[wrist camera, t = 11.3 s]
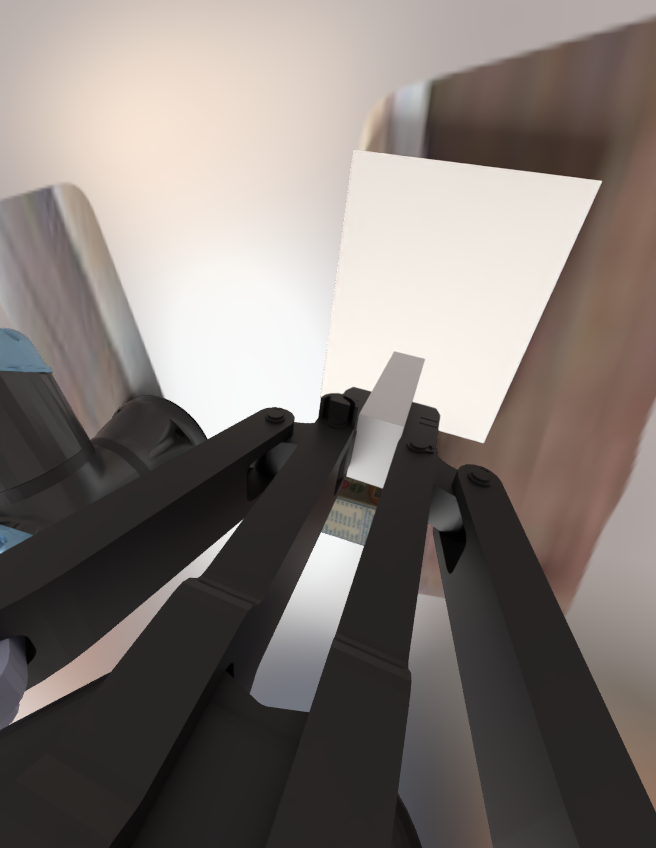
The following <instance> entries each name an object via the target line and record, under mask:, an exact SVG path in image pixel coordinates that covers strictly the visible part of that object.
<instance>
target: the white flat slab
mask: <svg viewBox="0 0 656 848" xmlns="http://www.w3.org/2000/svg"><path fill="white" fill-rule="evenodd" d="M601 183H602V181H599V180H591V179H583V178H575V177H567V176H559V175H551V174H543V173H535V172H527V171H519V170H511V169H503V168H496V167H488V166H480V165H472V164H464V163H456V162H448V161H440V160H432V159H424V158H416V157H408V156H400V155H392V154H385V153H377V152H369V151H361V150H353V157H352V165H351V172H350V179H349V187H348V195H347V201H346V209H345V216H344V224H343V231H342V239H341V247H340V254H339V261H338V270H337V276H336V283H335V291H334V299H333V307H332V314H331V321H330V328H329V336H328V344H327V352H326V358H325V366H324V373H323V381H322V388H321V395H320V397H322V396H324V395H325V394H329V393H340V394H343V393H344V392H345V390H347V389H350V388H352V387H356V388H360V389H364V390H367V391H371V392H372V390H373V388H374V387H375V385H376V383H377V381H378V379H379V378H380V376H381V374H382V372H383V370H384V369H385V367H386V365H387V363H388V361H389V360H390V358H391V356H392V354H393V352H394V351H395V352H399V353H403V354H407V355H412V356H416V357H420V358H424V359H425V361H424V365H423V368H422V372H421V375H420V378H419V382H418V385H417V388H416V392H415V395H414V399H413V402H415V403H419V404H422V405H426V406H430V407H434V408H436V409H437V410H438V412H439V414H440V422H439V428H438V430H439V431H442V432H446V433H449V434H453V435H456V436H460V437H463V438H467V439H471V440H474V441H478V442H481V443H484V441H485V439H486V437H487V435H488V432H489V430H490V428H491V426H492V424H493V421H494V419H495V417H496V415H497V412H498V410H499V408H500V406H501V404H502V401H503V399H504V397H505V395H506V393H507V390H508V388H509V386H510V384H511V382H512V379H513V377H514V375H515V373H516V370H517V368H518V366H519V364H520V362H521V359H522V357H523V355H524V353H525V351H526V348H527V346H528V344H529V342H530V340H531V337H532V335H533V333H534V331H535V329H536V326H537V324H538V322H539V320H540V317H541V315H542V313H543V311H544V309H545V306H546V304H547V302H548V300H549V298H550V295H551V293H552V291H553V289H554V287H555V284H556V282H557V280H558V278H559V275H560V273H561V271H562V269H563V267H564V264H565V262H566V260H567V258H568V256H569V253H570V251H571V249H572V247H573V245H574V242H575V240H576V238H577V236H578V233H579V231H580V229H581V227H582V225H583V222H584V220H585V218H586V216H587V214H588V211H589V209H590V207H591V205H592V203H593V200H594V198H595V196H596V194H597V192H598V189H599V187H600V185H601Z"/></svg>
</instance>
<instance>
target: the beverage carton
mask: <svg viewBox="0 0 656 848" xmlns="http://www.w3.org/2000/svg"><path fill="white" fill-rule="evenodd" d="M347 471H348V469H347ZM347 471H346V473H345V476H344V481H343V486H342V488H341V490H340V492H339V494H338V496H337V499H336V501H335V503H334V505H333V507H332V509H331V512H330V514H329V516H328V518H327V520H326V522H325V524H324V527H323V529H322V531H321V532H322V533H325V534H329V535H332V536H335V537H339V538H341V539H345V540H347V541H350V542H354V543H357V544H360V545H363V546H364V545H365V542H366V539H367V536H368V533H369V530H370V527H371V524H372V520H373V517H374V514H375V511H376V508H377V505H378V502H379V499H380V496H381V493H382V490H383V488H380V487H377V486H374V485H371V484H368V483H365V482H362V481H359V480H356V479H353V478H350V477H346V476H347Z"/></svg>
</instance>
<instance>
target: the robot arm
mask: <svg viewBox="0 0 656 848" xmlns="http://www.w3.org/2000/svg"><path fill="white" fill-rule="evenodd" d="M424 361H425V359H424V358H420V357H416V356H412V355H407V354H403V353H399V352H395V351H394V352H393V354H392V356H391V358H390V360H389V361H388V363H387V365H386V367H385V369H384V370H383V372H382V374H381V376H380V378H379V379H378V381H377V383H376V385H375V387H374V388H373V390H372V392H371V391H367V390H364V389H360V388H356V387H352V388H350V389H347V390H345V392H344V393H343V394H340V393H329V394H325V395H324V396H322V397H321V402H320V410H319V417H318V419H317V420H316V422H315V423H297V422H294V416H293V414H292V413H291V412H289V411H288V410H285V409H282V408H277V407H273V408H266V409H263V410H260V411H259V412H257V413H255V414H253V415H251V416H250V417H248V418H246V419H244V420H242V421H241V422H239V423H237V424H235V425H233V426H231V427H229V428H228V429H226V430H224V431H222V432H220V433H219V434H217V435H215V436H213V437H211V438H210V439H207V437H206V435H205V433H204V432H203V430H202V429H201V427H200V426H199V424H198V423H197V422H196V421H195V420H194V418H193V417H191V415H190V414H188V413H187V412H186V411H185V410H184V409H183V408H181V407H180V406H178V405H177V404H175V403H173V402H171V401H170V400H167V399H162V398H159V397H155V396H139V397H136V398H134V399H132V400H130V401H129V402H127V403H125V404H123V405H122V406H121V407H119V408H118V410H117V411H116V412H115V413H114V415H113V417H112V419H111V420H110V421H109V422H108V423H107V424H106V425H105V426H104V427H103V428H102V429H101V430H100V431H99V433H98V434H97V435H96V436H95V437H94V438H92V439H91V440H90V439H89V437H88V436H87V434H86V432H85V430H84V429H83V427H82V425H81V424H80V422H79V420H78V418H77V417H76V415H75V413H74V411H73V410H72V408H71V406H70V405H69V403H68V401H67V399H66V398H65V396H64V394H63V393H62V391H61V389H60V387H59V386H58V384H57V382H56V380H55V379H54V377H53V375H52V374H51V373H52V372H53V371H52V369H51V368H50V367H48V366H47V365H46V364H45V362H44V361H43V359H42V358H41V356H40V354H39V353H38V351H37V350H36V348H35V347H34V345H33V344H32V342H31V341H30V340H29V339H28V338H27V337H26V336H25V335H24V334H22V333H20V332H18V331H16V330H13V329H7V328H0V848H422V846H421V843H420V840H419V837H418V834H417V832H416V829H415V827H414V824H413V822H412V820H411V818H410V815H409V813H408V811H407V809H406V807H405V805H404V803H403V802H402V799H401V798H400V796H399V794H398V786H399V778H400V771H401V763H402V755H403V747H404V739H405V731H406V724H407V716H408V708H409V699H410V691H411V672H410V671H409V669H408V659H409V652H410V645H411V638H412V631H413V624H414V617H415V610H416V602H417V596H418V589H419V582H420V575H421V568H422V560H423V553H424V546H425V539H426V532H427V525H428V524H430V525H431V526H433V537H434V542H435V547H436V552H437V557H438V563H439V568H440V573H441V578H442V584H443V589H444V594H445V599H446V604H447V609H448V615H449V620H450V625H451V630H452V636H453V641H454V646H455V651H456V656H457V662H458V667H459V672H460V677H461V683H462V688H463V693H464V698H465V704H466V709H467V713H468V719H469V724H470V730H471V734H472V740H473V745H474V750H475V756H476V761H477V766H478V771H479V777H480V782H481V787H482V792H483V797H484V803H485V808H486V813H487V818H488V824H489V828H490V834H491V839H492V844H493V848H656V812H655V810H654V807H653V805H652V803H651V801H650V799H649V797H648V795H647V793H646V790H645V788H644V786H643V784H642V782H641V780H640V778H639V775H638V773H637V771H636V769H635V767H634V765H633V763H632V761H631V758H630V756H629V754H628V752H627V750H626V748H625V745H624V743H623V741H622V739H621V737H620V735H619V733H618V730H617V728H616V726H615V724H614V722H613V720H612V718H611V715H610V713H609V711H608V709H607V707H606V705H605V703H604V700H603V698H602V696H601V694H600V692H599V690H598V688H597V685H596V683H595V681H594V679H593V677H592V675H591V673H590V671H589V668H588V666H587V664H586V662H585V660H584V658H583V656H582V653H581V651H580V649H579V647H578V645H577V643H576V641H575V638H574V636H573V634H572V632H571V630H570V628H569V626H568V623H567V622H566V619H565V617H564V615H563V613H562V611H561V608H560V606H559V604H558V602H557V600H556V598H555V596H554V594H553V591H552V589H551V587H550V585H549V583H548V581H547V579H546V576H545V574H544V572H543V570H542V568H541V566H540V564H539V561H538V559H537V557H536V555H535V553H534V551H533V549H532V546H531V544H530V542H529V540H528V538H527V536H526V534H525V531H524V529H523V527H522V525H521V523H520V521H519V519H518V517H517V514H516V512H515V510H514V508H513V506H512V504H511V502H510V499H509V497H508V495H507V493H506V491H505V489H504V487H503V484H502V482H501V481H500V479H499V478H498V477H497V476H496V475H495V474H494V473H493V472H491V471H490V470H488V469H486V468H484V467H481V466H477V465H471V464H466V465H463V466H461V467H460V468H459V469H458V470H457V469H455V468H453V467H451V466H449V465H448V464H446V463H445V462H443V461H442V460H441V459H440V458H439V457H438V452H437V448H436V442H437V436H438V428H439V422H440V414H439V412H438V410H437V409H436V408H434V407H430V406H426V405H422V404H419V403H415V402H413V399H414V395H415V392H416V388H417V385H418V382H419V378H420V375H421V372H422V368H423V365H424ZM347 469H348V471H347ZM346 471H347V476H346V477H350V478H353V479H356V480H359V481H362V482H365V483H368V484H371V485H374V486H377V487H380V488H383V490H382V493H381V496H380V499H379V502H378V505H377V508H376V511H375V514H374V517H373V520H372V524H371V527H370V530H369V533H368V536H367V539H366V542H365V545H364V548H363V551H362V555H361V558H360V561H359V564H358V567H357V570H356V573H355V576H354V579H353V583H352V585H351V589H350V592H349V595H348V598H347V601H346V604H345V607H344V610H343V613H342V616H341V619H340V623H339V626H338V629H337V632H336V635H335V637H334V639H333V642H332V645H331V648H330V651H329V654H328V657H327V660H326V663H325V666H324V669H323V672H322V675H321V678H320V681H319V684H318V687H317V691H316V694H315V697H314V700H313V703H312V706H311V709H310V712H302V711H295V710H288V709H280V708H273V707H267V706H264V705H262V704H260V703H259V702H257V701H256V700H255V699H254V698H253V697H252V696H251V695H250V691H251V688H252V685H253V682H254V678H255V675H256V672H257V669H258V667H259V664H260V662H261V660H262V658H263V655H264V653H265V651H266V649H267V647H268V644H269V642H270V640H271V638H272V636H273V634H274V632H275V629H276V627H277V625H278V623H279V621H280V619H281V617H282V615H283V612H284V610H285V608H286V606H287V604H288V602H289V600H290V597H291V595H292V593H293V591H294V589H295V587H296V585H297V582H298V580H299V578H300V576H301V574H302V572H303V570H304V567H305V565H306V563H307V561H308V559H309V556H310V554H311V552H312V550H313V548H314V546H315V544H316V541H317V539H318V537H319V535H320V533H321V531H322V529H323V527H324V524H325V522H326V520H327V518H328V516H329V514H330V512H331V509H332V507H333V505H334V503H335V501H336V499H337V496H338V494H339V492H340V490H341V488H342V486H343V481H344V476H345V473H346ZM241 520H243V521H242V522H241V523H240V525H239V526H238V527H237V529H236V530H235V532H234V533H233V534H232V536H231V537H230V538H229V540H228V541H227V542H226V544H225V545H224V546H223V548H222V549H221V550H220V552H219V553H218V554H217V556H216V557H215V559H214V560H213V561H212V563H211V564H210V565H209V567H208V568H207V569H206V571H205V572H204V573H203V574H202V575H201V576H200V577H199V578H188V579H187V580H185V581H183V582H182V583H181V584H180V586H179V587H178V588H177V589H176V590H175V591H174V592H173V593H172V595H171V596H170V597H169V599H168V600H167V601H166V603H165V604H164V605H163V606H162V607H161V609H160V610H159V611H158V613H157V614H156V615H155V617H154V618H153V619H152V620H151V622H150V623H149V624H148V625H147V627H146V628H145V629H144V631H143V632H142V633H141V634H140V636H139V637H138V638H137V639H136V641H135V642H134V643H133V645H132V646H131V647H130V648H129V650H128V651H127V653H126V654H125V655H124V656H123V657H122V659H121V660H120V661H119V663H118V664H117V665H116V666H115V668H114V669H113V670H112V672H110V673H108V674H106V675H104V676H102V677H100V678H98V679H96V680H94V681H92V682H90V683H89V684H87V685H85V686H83V687H81V688H79V689H77V690H75V691H73V692H71V693H70V694H68V695H66V696H64V697H62V698H60V699H58V700H56V701H54V702H52V703H50V704H49V705H47V706H45V707H43V708H41V709H39V710H37V711H35V712H33V713H31V714H29V715H28V716H26V717H24V718H22V719H20V720H18V721H16V722H14V723H12V724H10V723H11V722H12V721H13V720H14V718H15V716H16V715H17V713H18V709H19V702H20V700H21V699H22V697H23V694H24V692H25V691H26V690H28V689H30V688H31V687H33V686H35V685H37V684H38V683H40V682H42V681H43V680H45V679H46V678H48V677H49V676H51V675H52V674H54V673H55V672H57V671H58V670H60V669H61V668H63V667H64V666H66V665H67V664H69V663H70V662H72V661H73V660H74V659H75V658H77V657H78V656H79V655H81V654H82V653H83V652H85V651H86V650H87V649H88V648H90V647H91V646H92V645H93V644H95V643H96V642H97V641H98V640H100V638H102V637H103V636H104V635H106V634H107V633H108V632H109V631H110V630H112V629H113V628H114V627H115V626H116V625H117V624H119V623H120V622H121V621H122V620H123V619H125V618H126V617H127V616H128V615H129V614H131V613H132V612H133V611H134V610H135V609H136V608H138V607H139V606H140V605H141V604H143V603H144V602H145V601H146V600H147V599H148V598H150V597H151V596H152V595H153V594H154V593H156V592H157V591H158V590H159V589H160V588H161V587H163V586H164V585H165V584H166V583H168V582H169V581H170V580H171V579H172V578H173V577H175V576H176V575H177V574H178V573H179V572H181V571H182V570H183V569H184V568H185V567H186V566H188V565H189V564H190V563H191V562H192V561H194V560H195V559H196V558H197V557H198V556H200V555H201V554H202V553H203V552H204V551H206V550H207V549H208V548H209V547H210V546H211V545H213V544H214V543H215V542H216V541H218V540H219V539H220V538H221V537H222V536H223V535H225V534H226V533H227V532H228V531H229V530H230V529H232V528H233V527H234V526H235V525H237V524H238V523H239V522H240V521H241ZM9 724H10V725H9Z"/></svg>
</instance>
